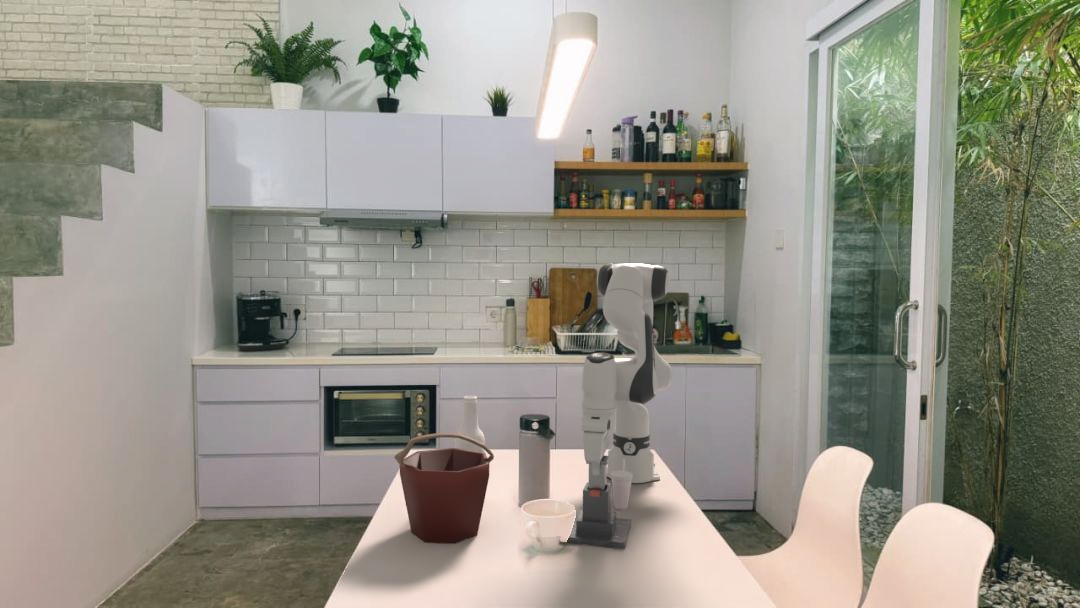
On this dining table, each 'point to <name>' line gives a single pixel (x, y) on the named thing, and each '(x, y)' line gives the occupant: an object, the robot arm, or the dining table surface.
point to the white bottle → (470, 426)
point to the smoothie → (621, 487)
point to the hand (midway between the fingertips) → (597, 471)
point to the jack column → (598, 476)
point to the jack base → (599, 522)
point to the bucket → (444, 489)
